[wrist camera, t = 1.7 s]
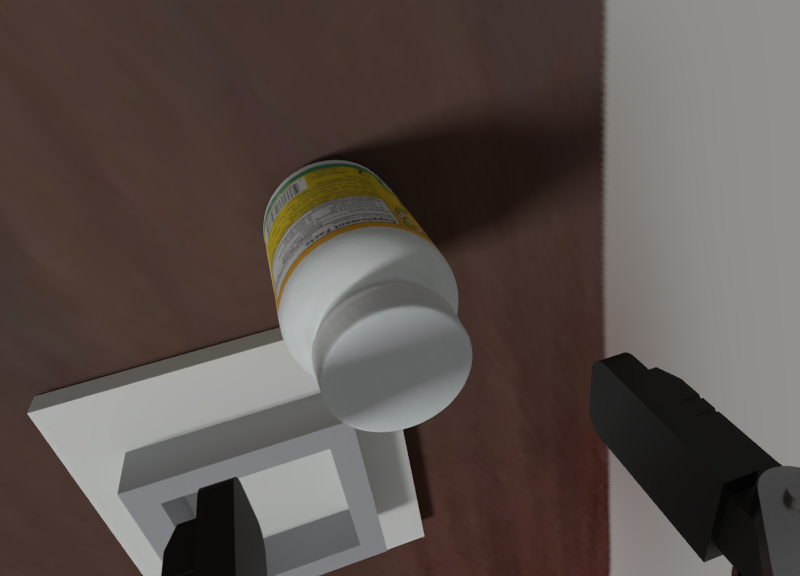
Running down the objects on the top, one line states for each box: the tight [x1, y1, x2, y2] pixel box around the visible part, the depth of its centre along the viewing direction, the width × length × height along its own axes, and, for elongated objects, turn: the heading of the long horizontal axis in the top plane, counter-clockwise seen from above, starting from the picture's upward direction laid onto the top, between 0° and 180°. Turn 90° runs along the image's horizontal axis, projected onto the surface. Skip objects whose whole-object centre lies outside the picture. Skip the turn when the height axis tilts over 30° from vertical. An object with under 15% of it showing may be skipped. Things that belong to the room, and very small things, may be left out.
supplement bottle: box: [263, 160, 472, 432], centre depth 18 cm, size 5×5×10 cm
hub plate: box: [27, 327, 424, 576], centre depth 26 cm, size 16×14×3 cm
